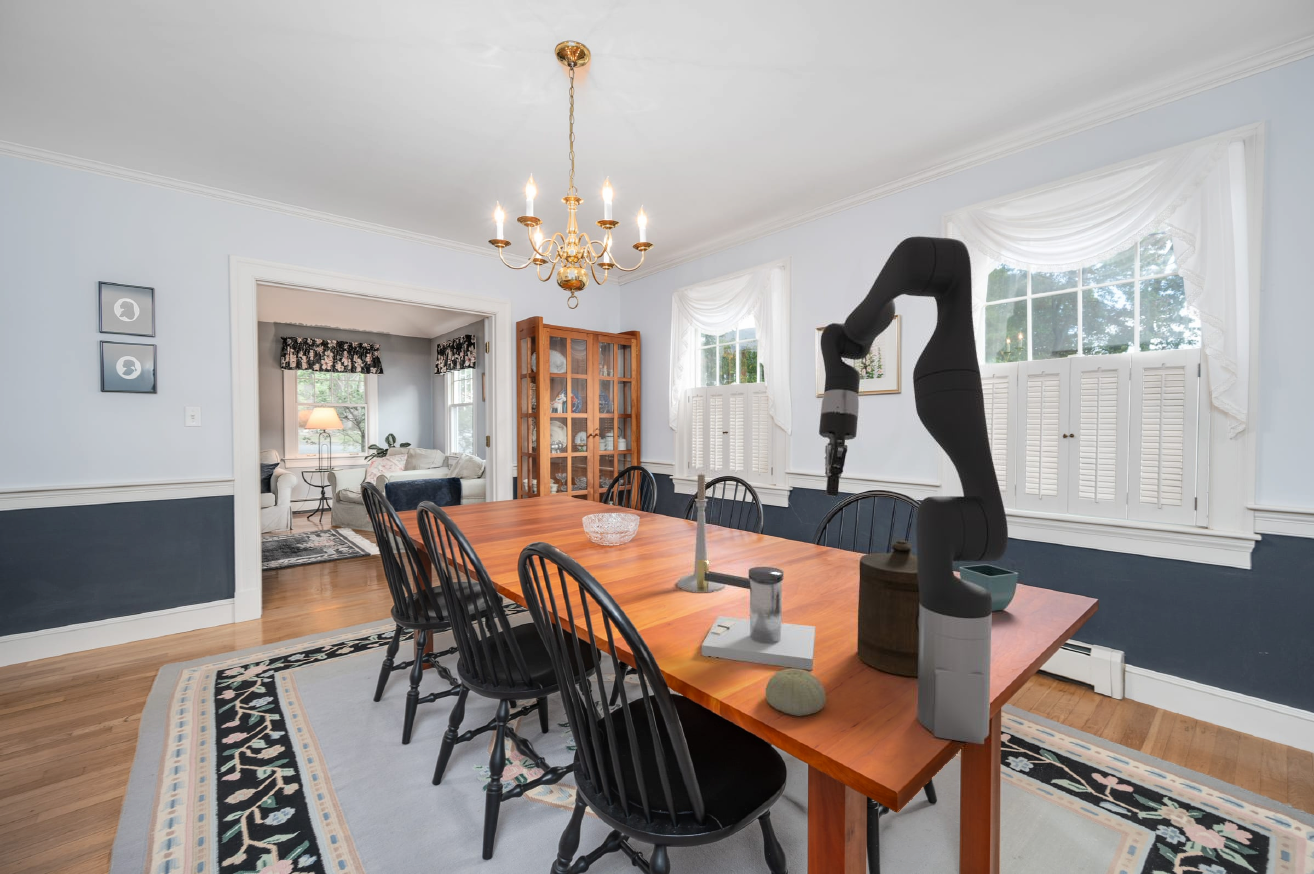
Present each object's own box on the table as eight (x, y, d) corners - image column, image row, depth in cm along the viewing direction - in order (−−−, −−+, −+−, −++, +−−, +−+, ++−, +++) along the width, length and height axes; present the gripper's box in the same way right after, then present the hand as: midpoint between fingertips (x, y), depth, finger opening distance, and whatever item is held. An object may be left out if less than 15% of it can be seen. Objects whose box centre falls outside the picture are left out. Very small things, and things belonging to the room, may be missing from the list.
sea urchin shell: (750, 694, 86) (770, 647, 90) (769, 716, 90) (788, 670, 94) (803, 716, 80) (822, 665, 84) (822, 738, 84) (839, 688, 88)
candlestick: (700, 595, 140) (700, 476, 139) (667, 584, 150) (667, 472, 149) (735, 586, 148) (735, 473, 147) (701, 575, 158) (701, 469, 157)
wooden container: (948, 683, 93) (950, 552, 93) (854, 668, 99) (855, 544, 99) (942, 651, 107) (943, 536, 106) (860, 639, 113) (860, 530, 112)
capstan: (788, 634, 109) (788, 570, 108) (774, 645, 103) (775, 578, 103) (705, 614, 119) (705, 556, 119) (689, 624, 114) (689, 563, 114)
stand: (812, 670, 99) (812, 656, 99) (701, 655, 105) (701, 642, 105) (815, 636, 114) (815, 624, 114) (718, 625, 120) (718, 614, 120)
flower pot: (957, 603, 134) (957, 566, 134) (985, 599, 137) (986, 563, 136) (988, 616, 126) (989, 576, 125) (1018, 611, 128) (1019, 573, 128)
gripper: (816, 420, 126) (809, 496, 122) (825, 405, 113) (817, 490, 110) (851, 423, 124) (844, 501, 121) (864, 409, 111) (856, 495, 108)
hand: (831, 495), depth 115 cm, fingers closed
